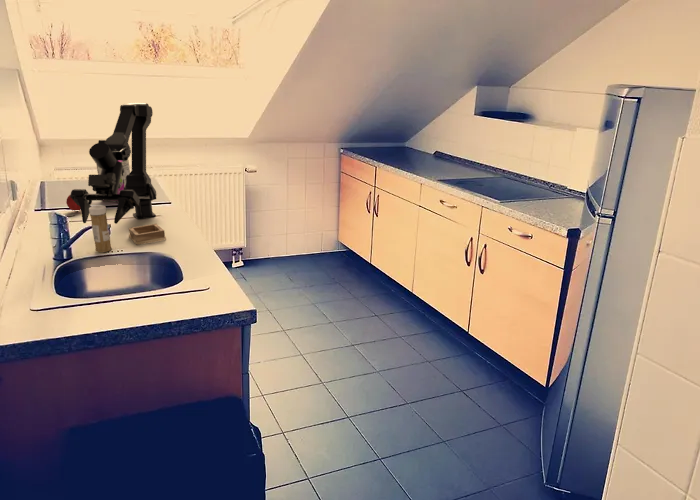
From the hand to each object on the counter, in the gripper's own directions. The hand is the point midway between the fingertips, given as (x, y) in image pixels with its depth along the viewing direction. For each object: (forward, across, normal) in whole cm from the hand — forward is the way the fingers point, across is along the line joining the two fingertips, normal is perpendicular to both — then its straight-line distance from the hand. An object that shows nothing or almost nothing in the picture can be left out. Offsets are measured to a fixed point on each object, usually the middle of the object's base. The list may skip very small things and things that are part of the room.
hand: (99, 222), depth 167 cm
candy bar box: (-33, -18, +44) cm, 58 cm away
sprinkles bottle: (+6, 0, +6) cm, 9 cm away
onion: (-22, -26, +34) cm, 48 cm away
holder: (-2, +9, +14) cm, 17 cm away
